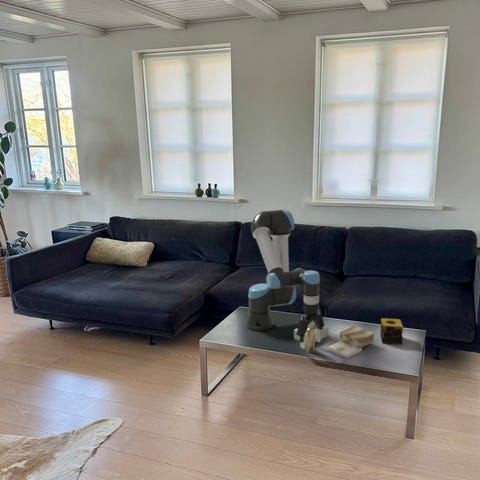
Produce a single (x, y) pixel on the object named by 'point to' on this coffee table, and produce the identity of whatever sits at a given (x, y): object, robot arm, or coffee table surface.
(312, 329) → the peg
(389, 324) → the candle
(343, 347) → the board
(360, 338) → the tan layered block
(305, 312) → the robot arm
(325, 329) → the socket board
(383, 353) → the coffee table surface
